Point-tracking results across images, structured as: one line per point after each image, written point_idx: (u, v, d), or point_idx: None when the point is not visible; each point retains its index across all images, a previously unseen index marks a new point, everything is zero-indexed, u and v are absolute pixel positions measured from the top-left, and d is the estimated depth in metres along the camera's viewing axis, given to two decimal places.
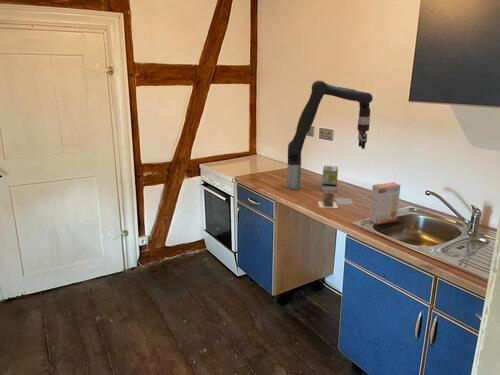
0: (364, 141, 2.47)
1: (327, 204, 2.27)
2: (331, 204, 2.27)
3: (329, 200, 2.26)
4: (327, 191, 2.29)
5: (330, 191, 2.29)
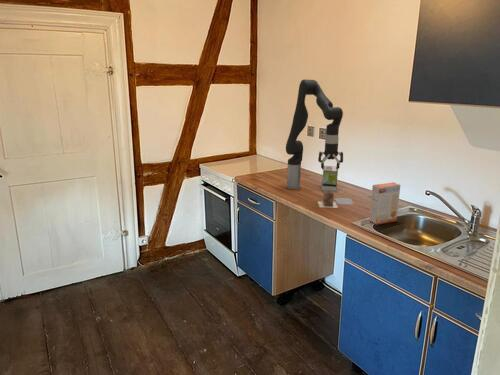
0: (342, 160, 2.22)
1: (327, 204, 2.27)
2: (331, 204, 2.27)
3: (329, 200, 2.26)
4: (327, 191, 2.29)
5: (330, 191, 2.29)
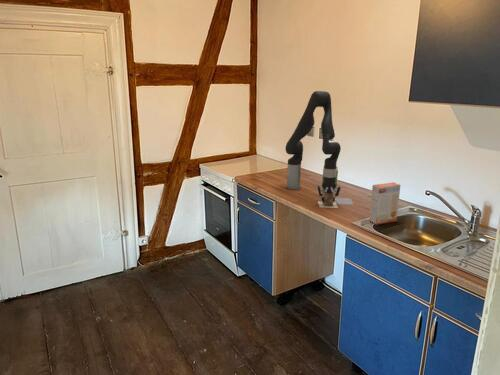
0: (337, 194, 2.28)
1: (327, 204, 2.27)
2: (331, 204, 2.27)
3: (329, 200, 2.26)
4: None
5: None
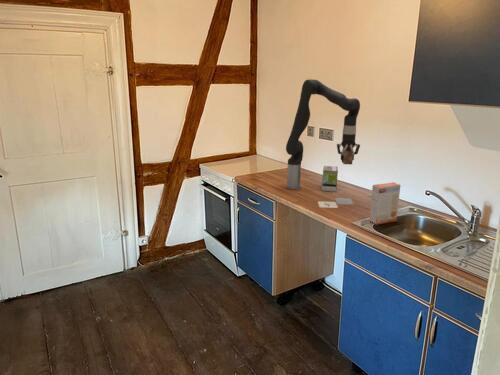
0: None
1: (346, 162, 2.26)
2: (350, 162, 2.26)
3: (349, 158, 2.25)
4: (346, 150, 2.27)
5: None
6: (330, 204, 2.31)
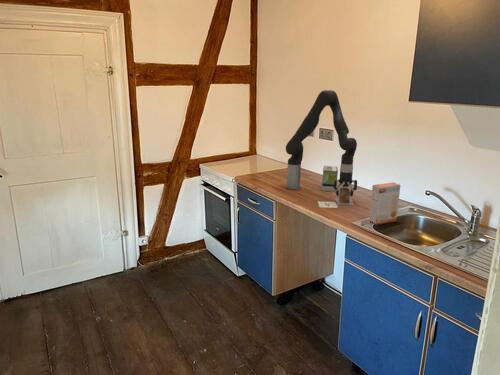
0: None
1: (344, 201, 2.33)
2: (348, 201, 2.32)
3: (346, 197, 2.32)
4: (343, 188, 2.34)
5: (346, 188, 2.35)
6: (330, 204, 2.31)
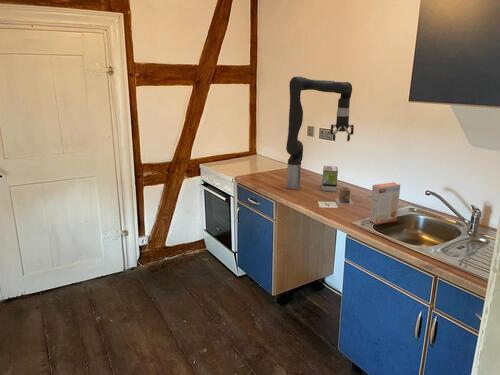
0: None
1: (344, 201, 2.33)
2: (348, 201, 2.32)
3: (346, 197, 2.32)
4: (343, 188, 2.34)
5: (346, 188, 2.35)
6: (330, 204, 2.31)
